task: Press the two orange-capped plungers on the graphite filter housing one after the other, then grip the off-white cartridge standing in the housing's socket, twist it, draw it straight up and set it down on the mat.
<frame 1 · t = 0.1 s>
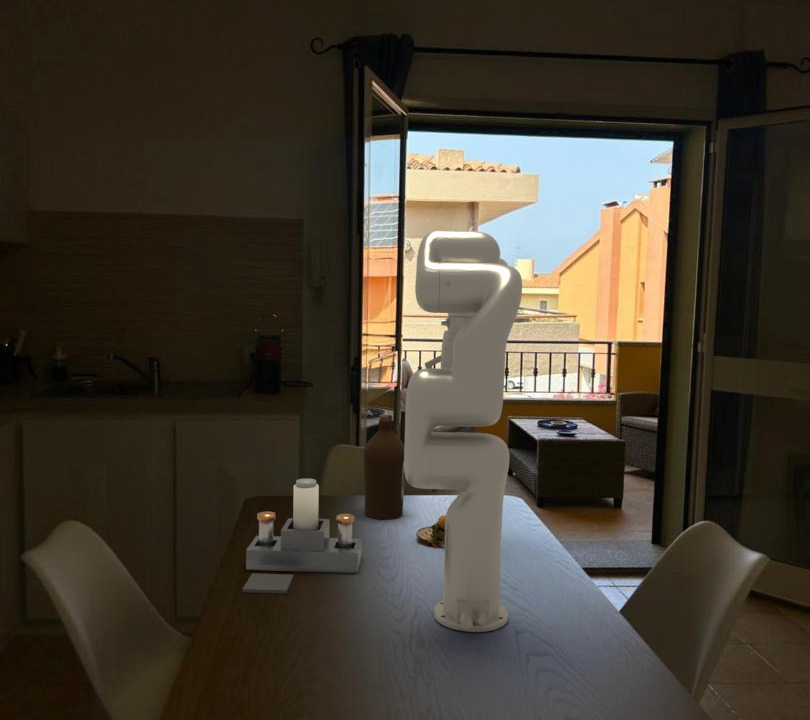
hand: (462, 400, 173), 31 cm above the table, tool pointing down, fingers open, 9 cm apart
olive oil: (384, 515, 192), on the table
housing: (305, 563, 155), on the table
plunger 2: (345, 535, 154), point 6 cm above the table, slide at 0.0 cm
mat: (268, 584, 143), on the table
cartridge: (305, 544, 155), point 4 cm above the table, touching housing
plunger 1: (266, 533, 155), point 6 cm above the table, slide at 0.0 cm
burger: (441, 542, 172), on the table
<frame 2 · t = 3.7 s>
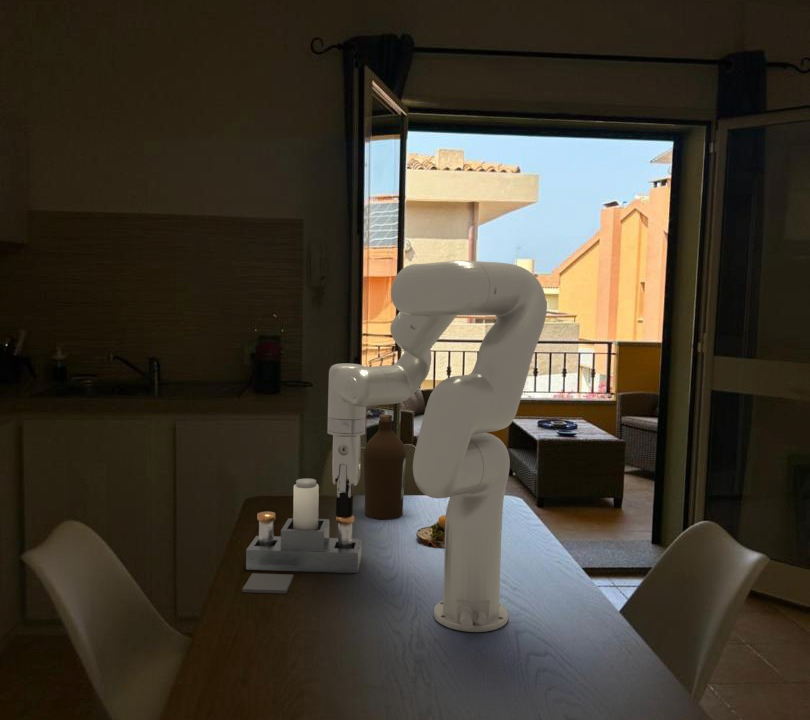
hand: (344, 515, 154), 10 cm above the table, tool pointing down, fingers closed
plunger 2: (345, 535, 154), point 6 cm above the table, slide at 0.0 cm, touching gripper
everything else where it was.
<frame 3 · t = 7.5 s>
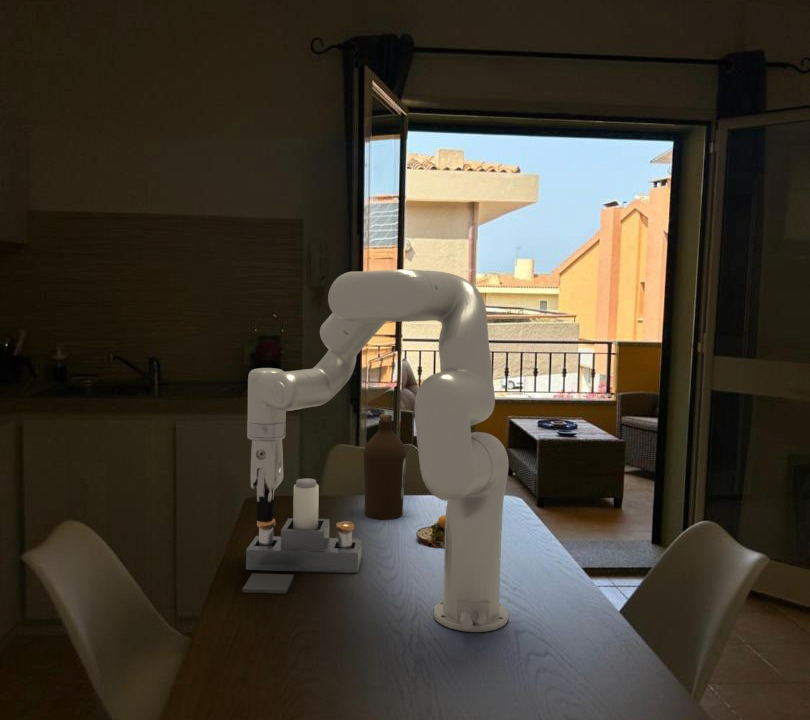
hand: (265, 519, 155), 9 cm above the table, tool pointing down, fingers closed
plunger 2: (345, 543, 155), point 4 cm above the table, slide at -1.6 cm
plunger 1: (266, 539, 155), point 5 cm above the table, slide at -1.3 cm, touching gripper
everything else where it was.
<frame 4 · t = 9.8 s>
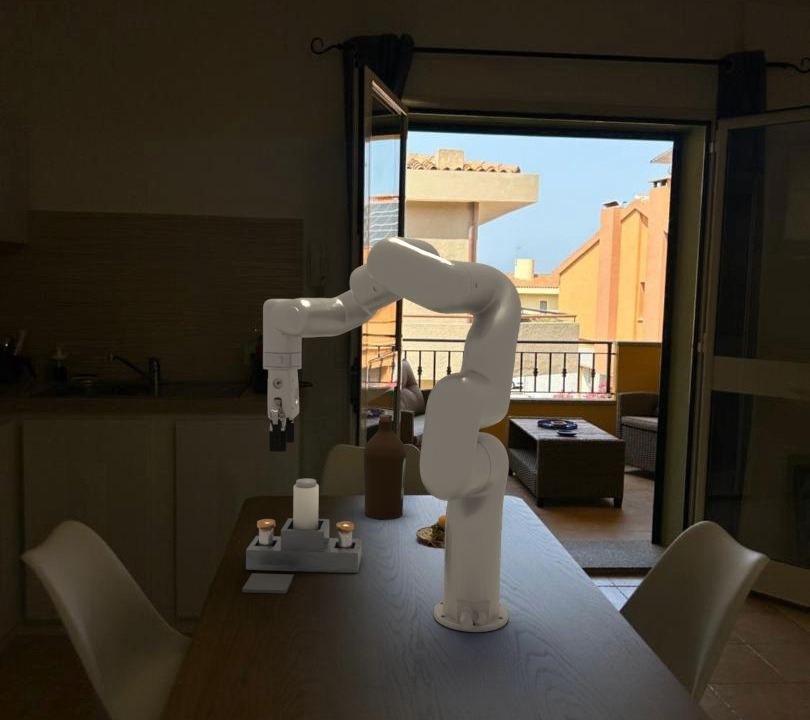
hand: (282, 446, 153), 24 cm above the table, tool pointing down, fingers open, 9 cm apart
plunger 1: (266, 540, 155), point 4 cm above the table, slide at -1.6 cm
everything else where it was.
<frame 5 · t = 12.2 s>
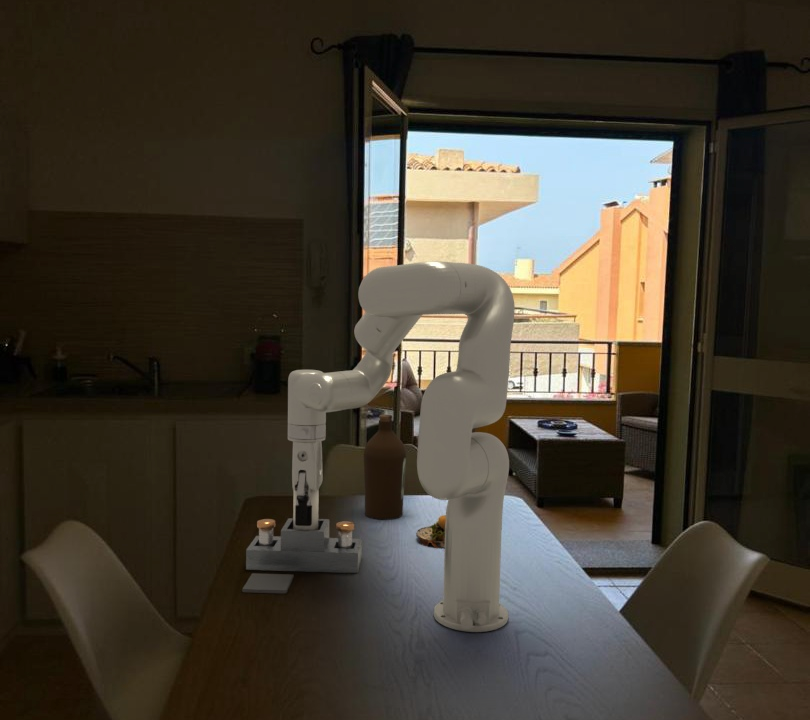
hand: (305, 520, 154), 9 cm above the table, tool pointing down, fingers closed on cartridge, 5 cm apart
cartridge: (305, 544, 155), point 4 cm above the table, touching gripper, housing
everything else where it was.
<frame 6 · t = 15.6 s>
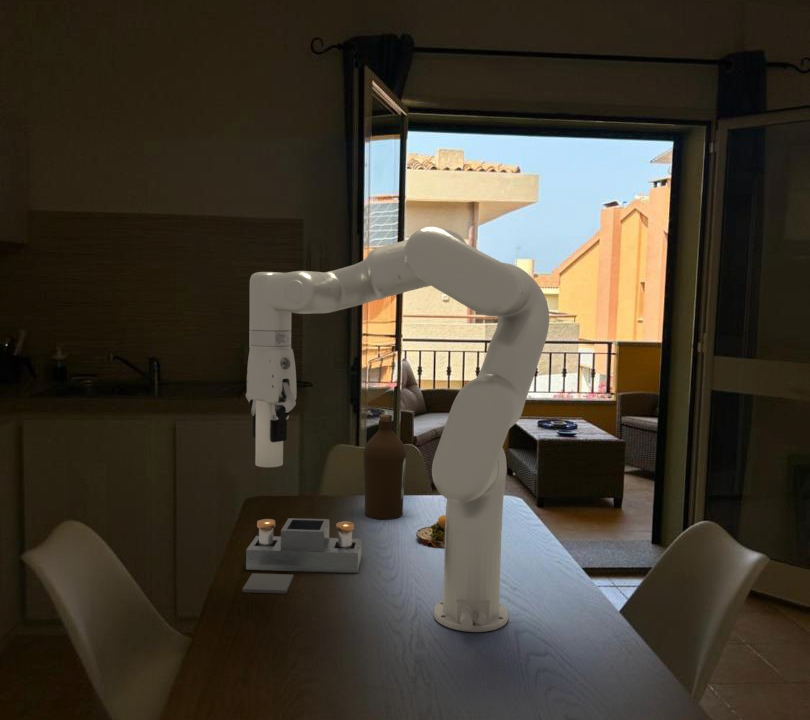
hand: (269, 437, 141), 28 cm above the table, tool pointing down, fingers closed on cartridge, 5 cm apart
cartridge: (269, 464, 142), point 23 cm above the table, touching gripper
everything else where it was.
when the fingers open (7 cm above the table, at t = 19.1 s): cartridge drops 2 cm, resting on mat.
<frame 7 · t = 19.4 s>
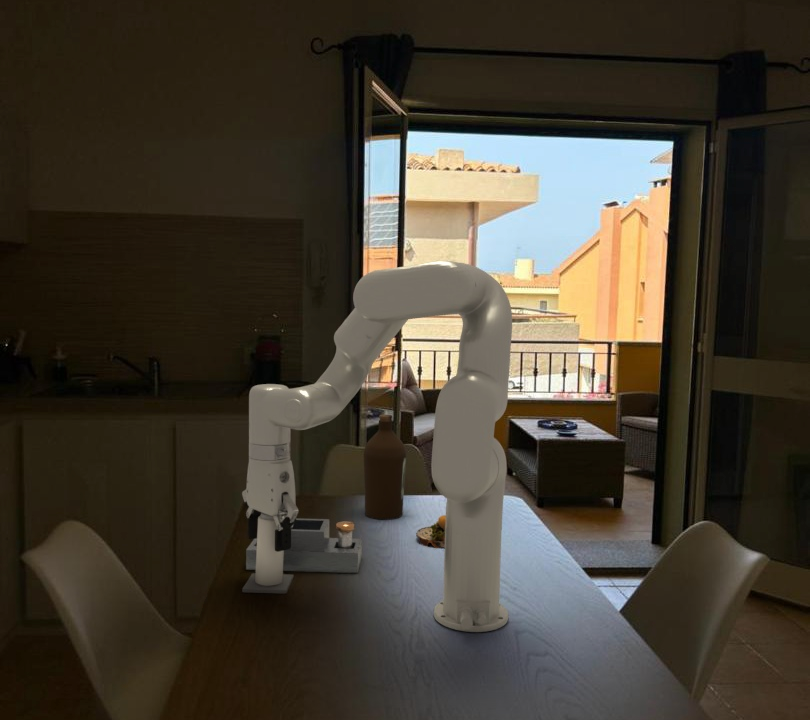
hand: (268, 543, 143), 8 cm above the table, tool pointing down, fingers open, 8 cm apart
cartridge: (268, 581, 143), point 1 cm above the table, touching mat
everything else where it was.
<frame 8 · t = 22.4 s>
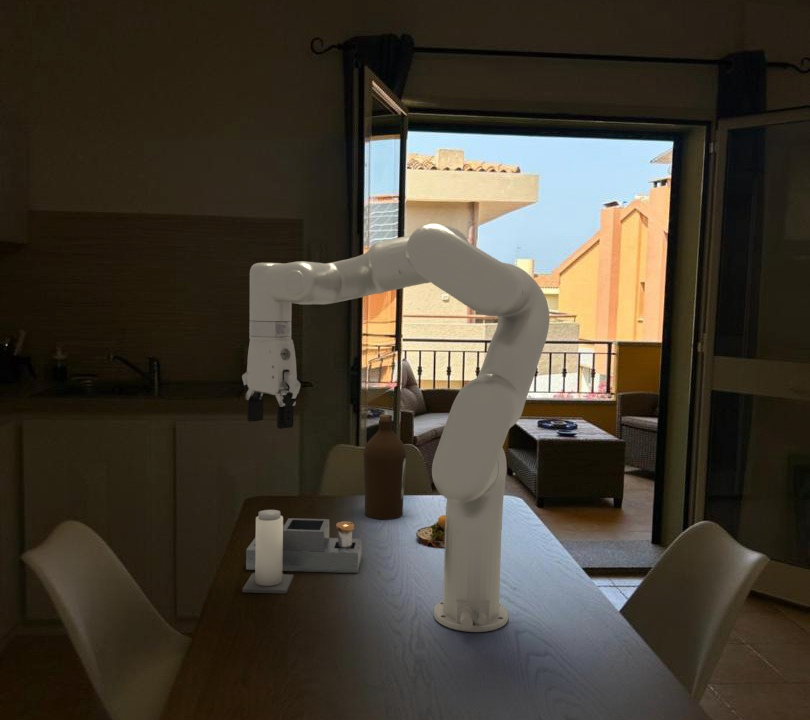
hand: (269, 424, 141), 30 cm above the table, tool pointing down, fingers open, 9 cm apart
nothing on the table moved.
at the end: cartridge inside the target area on the mat (0.0 cm from its centre), point 0.7 cm above the mat's base; cartridge tilted 2°; plunger 1 slide at -1.6 cm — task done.
